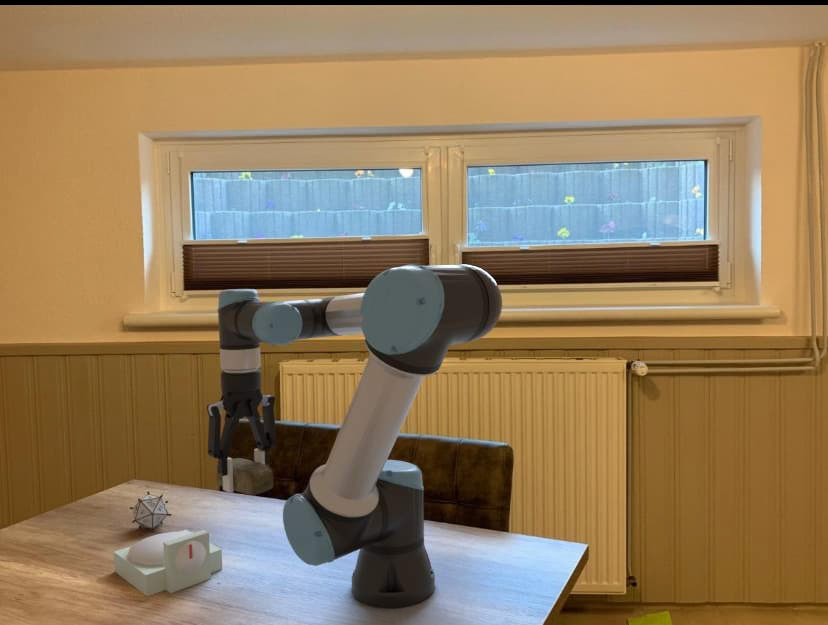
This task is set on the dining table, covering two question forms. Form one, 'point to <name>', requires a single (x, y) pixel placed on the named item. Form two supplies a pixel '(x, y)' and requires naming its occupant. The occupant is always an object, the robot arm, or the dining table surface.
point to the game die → (150, 511)
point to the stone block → (249, 477)
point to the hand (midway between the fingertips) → (244, 486)
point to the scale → (168, 561)
